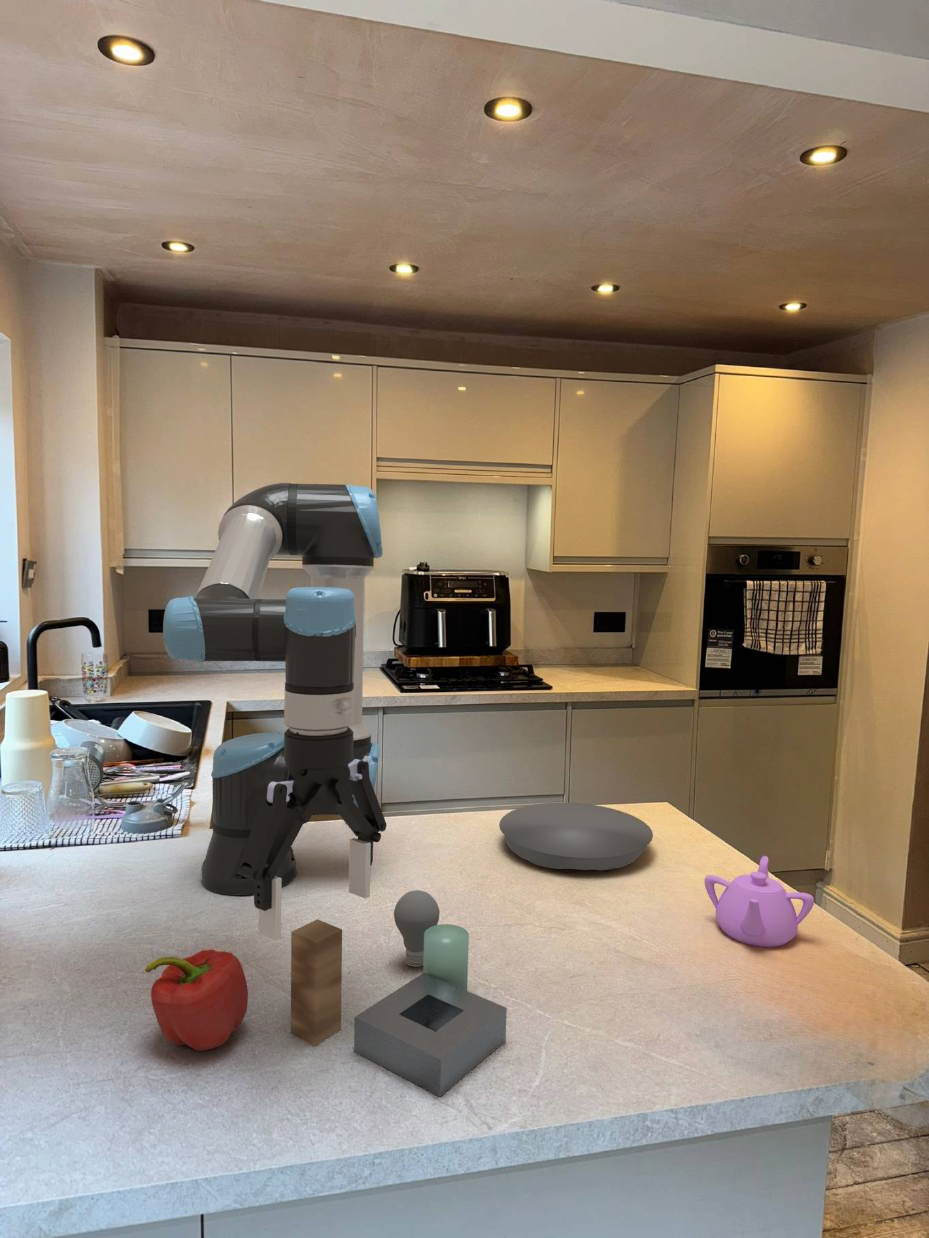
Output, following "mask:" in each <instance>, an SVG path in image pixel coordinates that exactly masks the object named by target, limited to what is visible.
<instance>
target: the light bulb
mask: <svg viewBox="0 0 929 1238" xmlns="http://www.w3.org/2000/svg"><path fill="white" fill-rule="evenodd" d="M393 919H394V924H395V926H396V928H397V929H398V931H399V933H400V934H401V937H402V939H403V945H404V947H405V963H406V964H407V965H409V966H411V967H414V968H418V967H421V966H423V959H424V933H425V931H426V930H427V929H428V928H430V927H432V926H435V925H439V920H440V908H439V904H438V903H437V901H436V899H435V898H434V897H433V896H432V895H431V894H430V893H428V892H427V891H424V890H419V889H417V890H416V889H415V890H411V891H408V892H406V893H404V894H403V895H402V896H401V897H399V900H398V901H397V902H396V905H395V907H394V909H393Z"/></svg>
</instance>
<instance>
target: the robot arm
mask: <svg viewBox="0 0 929 1238" xmlns="http://www.w3.org/2000/svg"><path fill="white" fill-rule="evenodd" d="M378 507H379V506H378V501H377V496H376V493H375V491H374V490H373V489H371V488H370V487H368V486H364V485H363V486H361V485H354V484H353V485H352V484H348V483H347V484H337V483H335V484H334V483H333V484H332V483H331V484H329V483H327V484H325V483H322V484H321V483H320V484H319V483H291V482H279V483H272V484H267V485H265V486H262V487H259V488H257V489H254V490H253V491H250V492H249V493H247V494H245V495H243V496H241V497H239V499H237V500H236V501H235V502H233V503H232V504H231V506H230V507H228V508H227V510H226V511H225V512H224V514H223V516H222V518H221V520H220V522H219V525H218V530H217V536H218V541H219V542H218V545H217V547H216V549H215V551H214V554H213V556H212V558H211V560H210V563H209V565H208V568H207V570H206V572H205V574H204V576H203V579H202V581H201V584H200V586H199V588H198V590H197V593H196V595H195V597H194V596H191V595H189V596H186V597H175V598H172V599H170V600H169V601H168V603H167V604H166V606H165V609H164V610H165V611H164V613H163V621H162V622H163V624H162V627H163V628H162V629H163V630H162V632H163V634H162V635H163V643H164V649H165V651H166V653H167V655H168V656H169V657H170V658H171V659H174V660H180V661H193V662H194V661H195V662H198V663H203V662H270V663H271V662H272V663H273V662H275V663H276V662H277V663H279V662H284V663H285V665H284V668H285V669H284V670H285V671H284V672H285V683H284V700H283V701H284V704H283V706H284V707H283V708H284V709H283V710H284V711H283V712H284V714H283V724H284V725H285V726H286V727H288V728H287V729H286V730H285V731H284V734H283V733H280V732H272V731H271V732H257V733H252V734H245V735H242V736H238V737H234V738H231V739H227V740H226V741H224V742H222V743H221V744H219V745H218V746H217V747H216V748H215V750H214V753H213V757H212V771H211V772H210V773H211V774H210V776H211V777H212V834H211V838H210V841H209V845H208V848H207V852H206V855H205V859H203V860H204V861H203V863H202V865H201V883H202V885H203V886H204V887H205V888H206V889H208V890H209V891H212V892H215V893H219V894H223V895H231V896H250V895H253V904H254V907H255V908H256V909H258V934H259V935H261V936H262V937H263V936H264V937H266V938H268V939H270V940H272V941H275V942H277V941H279V940H281V939H282V888H283V887H285V886H287V885H289V884H290V883H291V882H293V880H294V879H295V878H296V876H297V858H296V856H295V854H294V849H293V844H294V842H295V841H296V839H297V837H298V835H299V833H300V831H301V829H302V828H303V826H304V825H305V824H307V823H308V822H309V821H310V819H311V817H312V816H340V817H341V819H342V820H343V821H344V822H345V824H346V825H347V827H348V828H349V829H350V830H351V831H352V833H353V835H355V837H353V838H350V839H349V852H348V853H349V854H348V855H349V856H348V857H349V858H348V859H349V860H348V861H349V863H348V894H352V895H355V896H358V897H360V898H364V899H367V898H369V897H371V866H373V861H374V843H378V842H380V841H381V838H382V833H381V832H385V831H386V829H387V826H388V825H387V822H386V819H385V816H384V814H383V811H382V809H381V805H380V803H379V800H378V798H377V794H376V792H375V789H376V788H375V787H376V782H377V775H378V767H379V765H378V764H379V758H380V745H379V743H376V742H374V741H372V732H371V731H370V729H369V728H367V727H366V726H365V725H364V723H363V683H364V682H363V681H364V680H363V678H364V673H363V672H364V670H363V669H364V619H365V617H364V612H365V611H364V610H365V606H364V605H365V603H364V602H365V578H366V577H367V576H368V575H369V574H370V573H371V572H372V571H373V570H374V561H375V559H378V558H382V557H383V543H382V533H381V531H382V530H381V523H380V516H379V508H378ZM284 555H285V556H299V557H301V568H302V569H303V570H304V571H305V572H306V573H307V574H309V577H310V578H311V579H310V583H311V586H299V587H293V588H291V589H289V591H288V592H287V594H286V596H285V599H281V598H280V599H278V598H277V599H276V598H274V599H272V598H270V599H269V598H266V599H265V598H260V596H261V593H262V589H263V587H264V586H263V585H264V582H265V579H266V578H265V577H266V575H267V572H268V568H269V565H270V561H271V559H274V557H275V556H284ZM356 837H357V838H356Z"/></svg>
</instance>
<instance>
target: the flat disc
mask: <svg viewBox="0 0 929 1238" xmlns="http://www.w3.org/2000/svg"><path fill="white" fill-rule="evenodd" d="M499 830H500V831H501V833H502V834H503V837H504V840H505V842H506V844H507V846H508V847H509V849H511V851H512V853H514V854H516V855H517V856H518V857H519V858H522V859H524V860H528V862H530V863H532V864H534V865H536V866H540V867H545V868H547V869H555V870H557V869H558V870H565V869H567V870H568V869H572V870H580V871H587V870H588V871H589V870H592V871H595V870H597V871H607V870H608V871H609V870H613V869H621V868H623V867H626V866H628V865H629V864H633V863H634V862H635V861H637V859H639V858H640V856H641V854H642V853H644V852H646V849H647V848H648V845H649V844H651V842H652V840H653V837H654V833H653V830H652V829H651V827H650V826H649V825H648V823H646V822H644V821H643V820H642V819H640V818H638V817H636V816H634V815H632V814H630V813H627V812H625V811H622V810H619V809H614V808H611V807H606V806H602V805H596V804H595V805H594V804H590V803H589V804H587V803H579V802H546V803H545V802H544V803H537V804H530V805H526V806H522V807H519V808H516V809H512V810H511V811H509V812H507V813H506V814H504V815H503V816H502V818H501V819H500V821H499Z"/></svg>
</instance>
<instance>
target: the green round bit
mask: <svg viewBox="0 0 929 1238" xmlns="http://www.w3.org/2000/svg"><path fill="white" fill-rule="evenodd" d="M469 940H470V936H469V932H468V930H466V928H464V927H461V926H459V925H455V924H450V923H449V924H448V923H447V924H446V923H444V924H443V923H442V924H437V925H435V926H432V927H430V928H428V929H427V930H426V931H425V933H424V959H423V965H422V966H423V967H422V973H426V974H429V975H431V976H433V977H436V978H438V979H440V980H443V981H445V982H447V983H450V984H452V985H454V986H457V987H459V988H461V989H464V990H466V991H468V982H469V981H468V978H469V977H468V976H469V975H468V973H469V944H470V943H469V942H470V941H469Z"/></svg>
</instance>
